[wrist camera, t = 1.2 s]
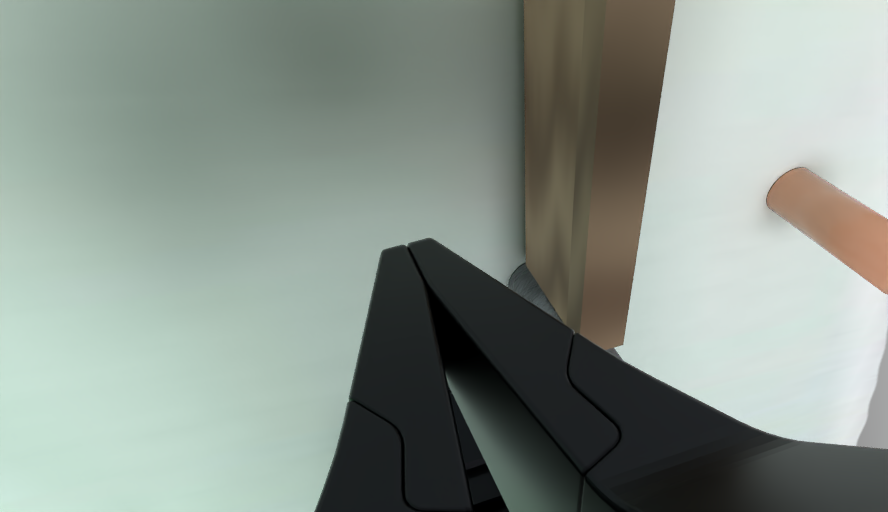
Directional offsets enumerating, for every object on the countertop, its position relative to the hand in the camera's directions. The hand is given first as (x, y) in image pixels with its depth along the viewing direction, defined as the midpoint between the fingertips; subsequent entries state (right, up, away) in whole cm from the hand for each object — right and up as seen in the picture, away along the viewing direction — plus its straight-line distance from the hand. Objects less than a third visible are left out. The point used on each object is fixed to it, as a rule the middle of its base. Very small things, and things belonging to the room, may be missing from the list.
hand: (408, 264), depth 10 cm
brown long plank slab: (+4, +6, +10) cm, 13 cm away
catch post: (+17, +3, +18) cm, 26 cm away
